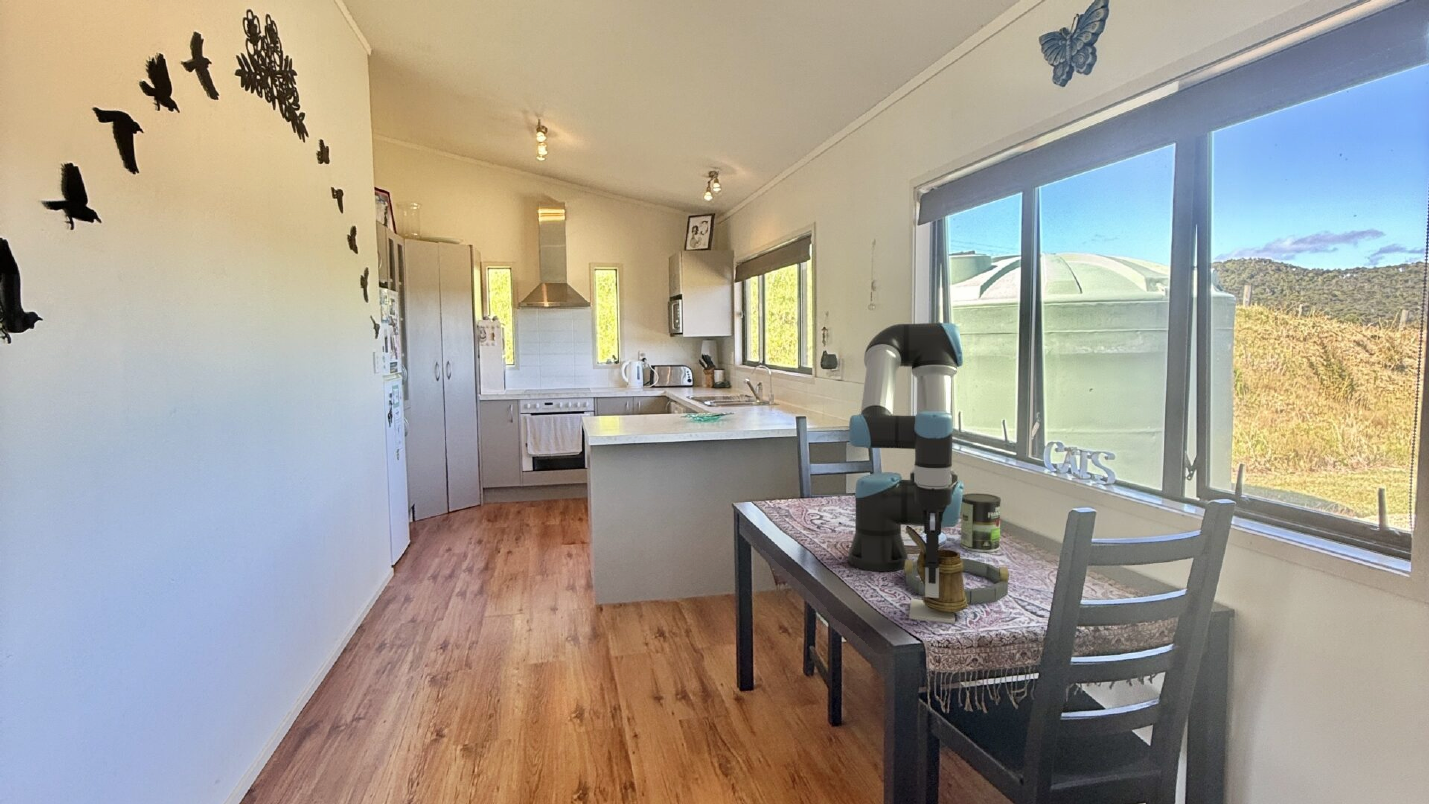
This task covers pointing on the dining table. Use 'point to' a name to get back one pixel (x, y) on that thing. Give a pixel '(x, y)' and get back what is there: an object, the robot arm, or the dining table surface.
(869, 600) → the dining table surface
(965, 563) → the collar
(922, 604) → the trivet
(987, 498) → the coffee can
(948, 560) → the wooden mug
